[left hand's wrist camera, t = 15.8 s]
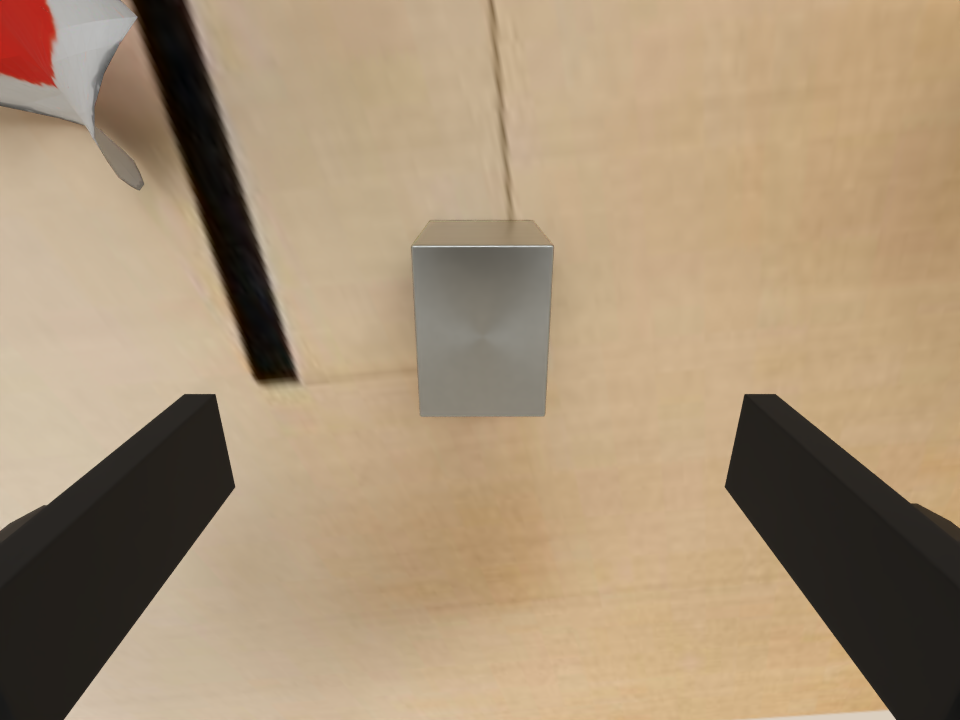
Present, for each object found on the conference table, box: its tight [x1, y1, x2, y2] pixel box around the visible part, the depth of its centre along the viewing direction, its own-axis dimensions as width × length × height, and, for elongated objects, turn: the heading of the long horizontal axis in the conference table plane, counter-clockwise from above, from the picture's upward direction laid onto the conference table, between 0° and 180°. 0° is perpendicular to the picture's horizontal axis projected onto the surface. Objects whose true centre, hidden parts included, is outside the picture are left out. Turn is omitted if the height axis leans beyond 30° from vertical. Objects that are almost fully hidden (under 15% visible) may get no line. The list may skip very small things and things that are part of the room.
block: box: [411, 220, 554, 417], centre depth 24 cm, size 7×5×8 cm
